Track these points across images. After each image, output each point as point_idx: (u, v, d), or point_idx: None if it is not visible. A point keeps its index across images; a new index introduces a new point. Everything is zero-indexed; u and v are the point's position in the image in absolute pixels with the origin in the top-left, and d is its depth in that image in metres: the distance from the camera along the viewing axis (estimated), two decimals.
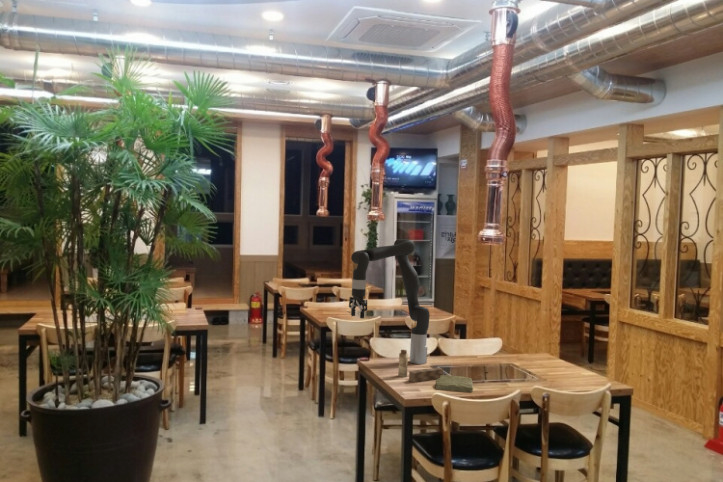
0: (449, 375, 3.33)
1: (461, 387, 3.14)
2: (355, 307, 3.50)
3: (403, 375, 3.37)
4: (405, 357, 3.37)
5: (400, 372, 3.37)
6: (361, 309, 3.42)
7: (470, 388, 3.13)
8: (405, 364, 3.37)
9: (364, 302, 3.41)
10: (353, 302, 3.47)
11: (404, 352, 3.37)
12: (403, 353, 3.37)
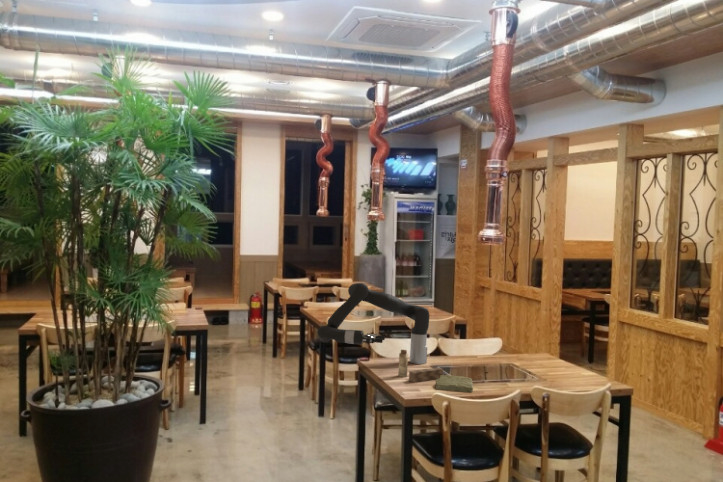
0: (449, 375, 3.33)
1: (461, 387, 3.14)
2: (376, 335, 3.45)
3: (403, 375, 3.37)
4: (405, 357, 3.37)
5: (400, 372, 3.37)
6: None
7: (470, 388, 3.13)
8: (405, 364, 3.37)
9: (364, 341, 3.35)
10: None
11: (404, 352, 3.37)
12: (403, 353, 3.37)
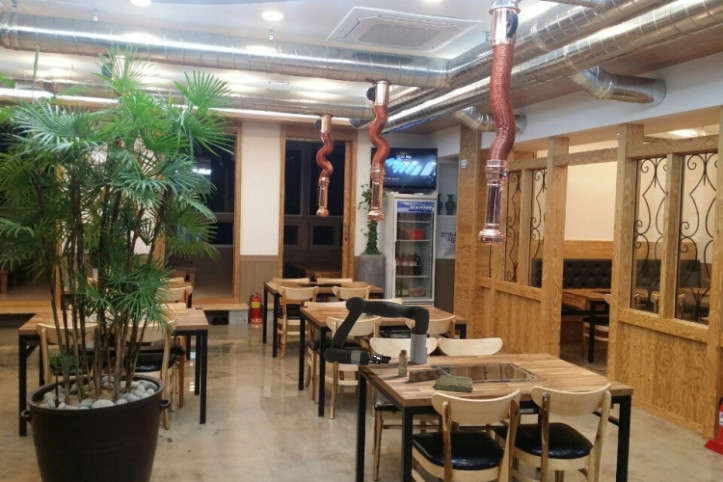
0: (449, 375, 3.33)
1: (461, 387, 3.14)
2: (382, 356, 3.45)
3: (403, 375, 3.37)
4: (405, 357, 3.37)
5: (400, 372, 3.37)
6: None
7: (470, 388, 3.13)
8: (405, 364, 3.37)
9: (371, 362, 3.35)
10: None
11: (404, 352, 3.37)
12: (403, 353, 3.37)
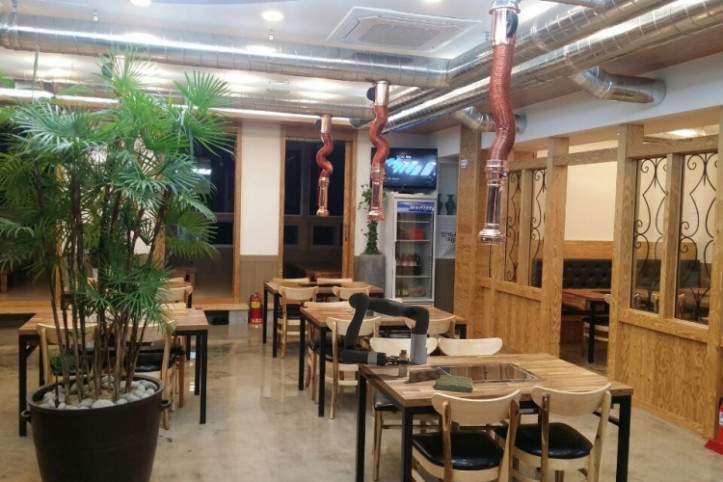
0: (449, 375, 3.33)
1: (461, 387, 3.14)
2: None
3: (403, 375, 3.37)
4: (405, 357, 3.37)
5: (400, 372, 3.37)
6: (398, 364, 3.36)
7: (470, 388, 3.13)
8: None
9: (390, 364, 3.34)
10: None
11: (404, 352, 3.37)
12: (403, 353, 3.37)
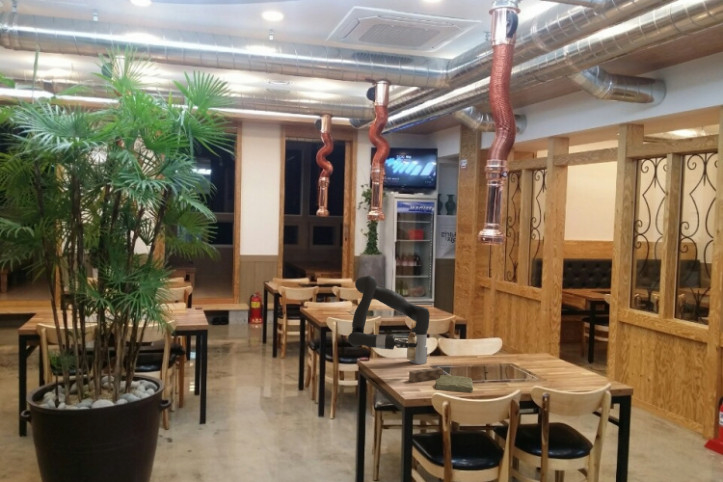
0: (449, 375, 3.33)
1: (461, 387, 3.14)
2: None
3: (411, 358, 3.35)
4: (414, 340, 3.35)
5: (408, 355, 3.35)
6: None
7: (470, 388, 3.13)
8: None
9: (399, 346, 3.32)
10: None
11: (413, 335, 3.35)
12: (412, 336, 3.35)
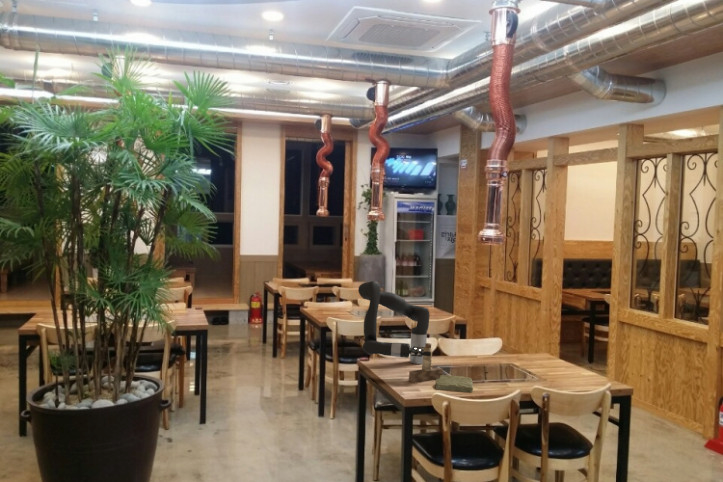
0: (449, 375, 3.33)
1: (461, 387, 3.14)
2: (422, 348, 3.37)
3: (427, 369, 3.32)
4: (430, 351, 3.31)
5: (424, 366, 3.32)
6: None
7: (470, 388, 3.13)
8: (429, 358, 3.32)
9: (413, 354, 3.28)
10: None
11: (429, 346, 3.32)
12: (428, 347, 3.32)
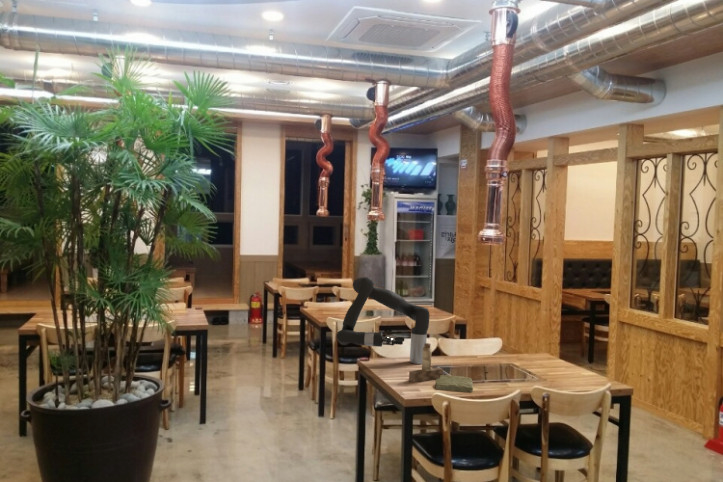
0: (449, 375, 3.33)
1: (461, 387, 3.14)
2: (395, 337, 3.43)
3: (427, 369, 3.32)
4: (429, 351, 3.32)
5: (424, 366, 3.32)
6: None
7: (470, 388, 3.13)
8: (429, 358, 3.32)
9: (385, 343, 3.34)
10: None
11: (428, 346, 3.32)
12: (427, 347, 3.32)
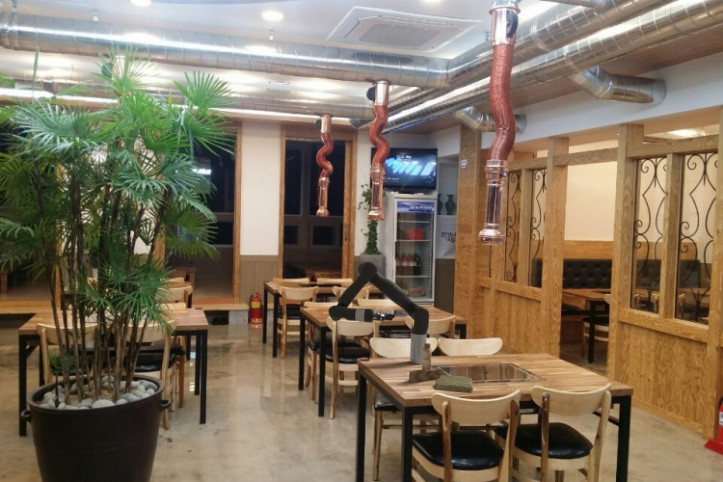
0: (449, 375, 3.33)
1: (461, 387, 3.14)
2: (385, 314, 3.51)
3: (427, 369, 3.32)
4: (429, 351, 3.32)
5: (424, 366, 3.32)
6: None
7: (470, 388, 3.13)
8: (429, 358, 3.32)
9: (375, 319, 3.42)
10: None
11: (428, 346, 3.32)
12: (427, 347, 3.32)
